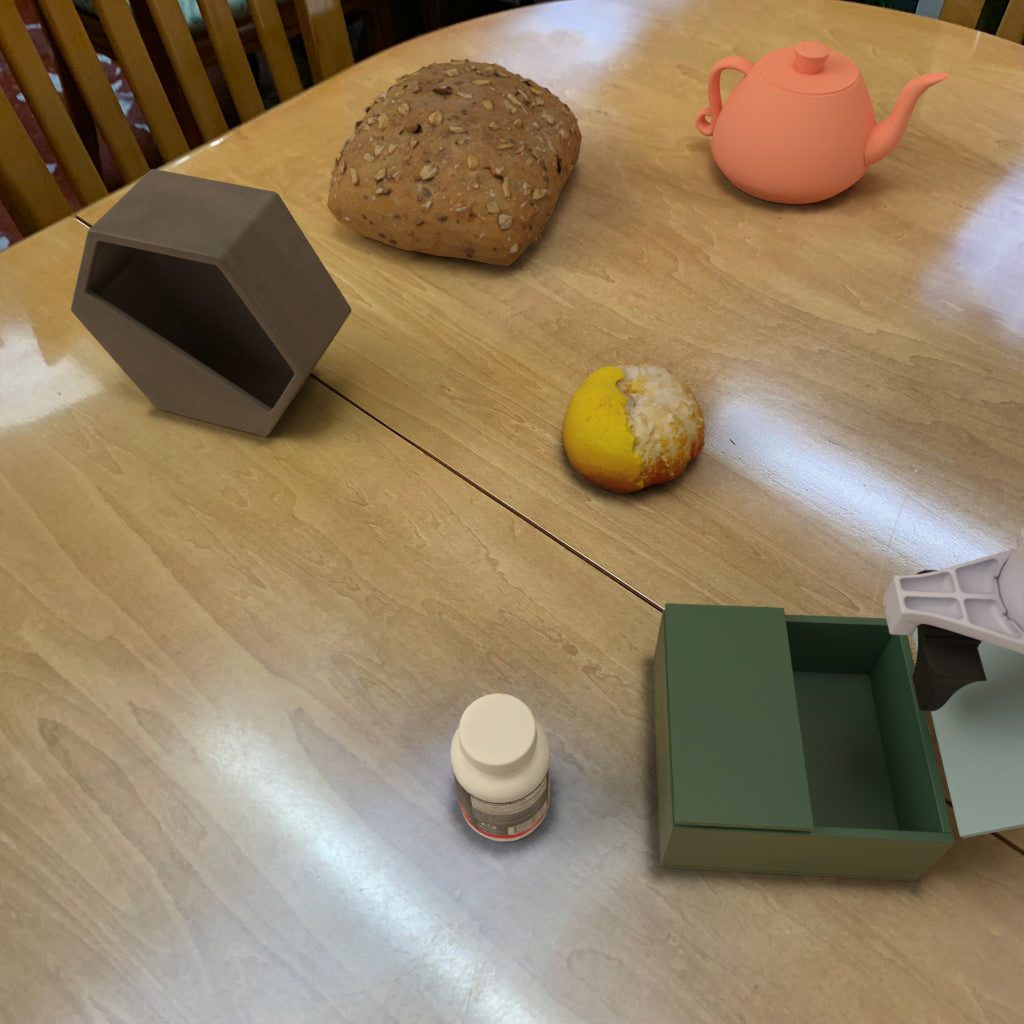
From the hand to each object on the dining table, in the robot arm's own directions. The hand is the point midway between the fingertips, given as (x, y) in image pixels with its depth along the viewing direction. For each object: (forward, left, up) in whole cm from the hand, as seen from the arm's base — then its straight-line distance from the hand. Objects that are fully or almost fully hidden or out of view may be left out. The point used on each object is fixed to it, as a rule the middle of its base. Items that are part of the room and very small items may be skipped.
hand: (989, 696), depth 47 cm
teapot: (0, -63, -10) cm, 64 cm away
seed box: (+9, 0, -10) cm, 13 cm away
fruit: (+17, -25, -10) cm, 32 cm away
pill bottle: (+25, +3, -10) cm, 27 cm away
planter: (+49, -30, -10) cm, 58 cm away
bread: (+33, -58, -10) cm, 67 cm away
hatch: (0, 0, 0) cm, 0 cm away
